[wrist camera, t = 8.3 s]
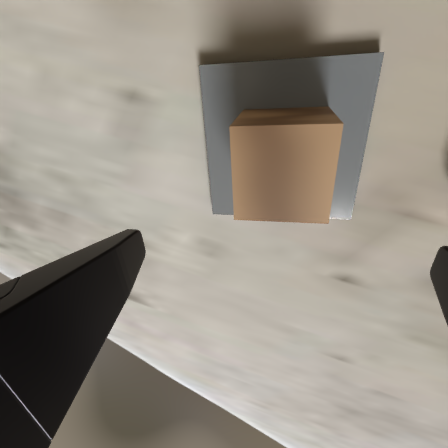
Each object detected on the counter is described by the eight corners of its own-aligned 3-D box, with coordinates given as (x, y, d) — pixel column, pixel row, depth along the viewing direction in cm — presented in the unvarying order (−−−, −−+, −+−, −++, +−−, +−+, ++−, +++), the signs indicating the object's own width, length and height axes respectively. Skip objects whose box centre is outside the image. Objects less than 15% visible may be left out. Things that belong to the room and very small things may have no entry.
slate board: (379, 52, 15) (384, 52, 14) (348, 214, 20) (351, 219, 19) (202, 65, 17) (198, 65, 16) (215, 209, 22) (212, 214, 21)
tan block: (328, 106, 16) (343, 123, 12) (319, 186, 19) (328, 223, 14) (243, 109, 17) (229, 126, 13) (245, 184, 20) (234, 219, 15)
